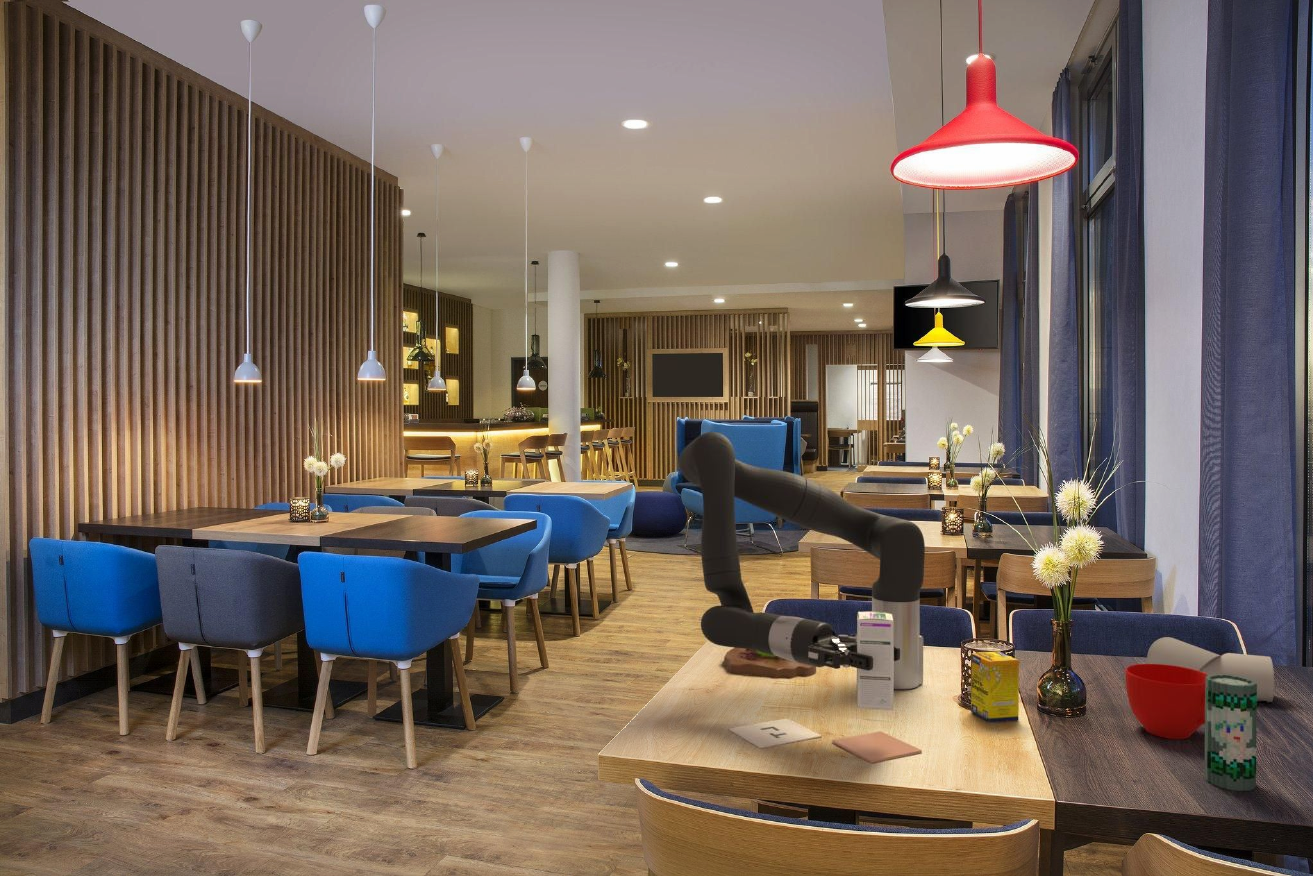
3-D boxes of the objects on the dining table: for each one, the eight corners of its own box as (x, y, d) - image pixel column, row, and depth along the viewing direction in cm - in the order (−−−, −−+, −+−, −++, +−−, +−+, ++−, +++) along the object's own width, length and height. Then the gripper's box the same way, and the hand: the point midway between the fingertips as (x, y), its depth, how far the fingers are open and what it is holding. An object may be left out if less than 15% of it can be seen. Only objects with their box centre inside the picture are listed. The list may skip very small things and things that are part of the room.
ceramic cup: (1205, 759, 143) (1206, 695, 142) (1108, 727, 158) (1108, 669, 157) (1254, 745, 149) (1255, 684, 148) (1155, 715, 164) (1156, 660, 163)
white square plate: (787, 719, 162) (787, 718, 162) (821, 737, 153) (821, 735, 153) (728, 729, 157) (728, 728, 157) (760, 748, 148) (760, 746, 148)
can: (1210, 787, 132) (1211, 683, 131) (1201, 772, 137) (1202, 672, 137) (1259, 793, 130) (1260, 687, 129) (1248, 777, 135) (1249, 676, 135)
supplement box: (970, 712, 166) (970, 652, 165) (1000, 710, 167) (1000, 650, 167) (988, 723, 160) (988, 661, 160) (1019, 721, 161) (1019, 659, 161)
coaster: (880, 733, 155) (880, 731, 155) (921, 752, 146) (921, 750, 146) (832, 742, 150) (832, 740, 150) (871, 763, 141) (871, 760, 141)
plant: (727, 653, 209) (727, 604, 209) (813, 656, 207) (813, 607, 206) (721, 678, 190) (721, 624, 189) (817, 681, 187) (817, 626, 187)
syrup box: (894, 711, 144) (895, 619, 144) (855, 708, 146) (857, 617, 145) (892, 700, 150) (894, 612, 150) (855, 697, 151) (857, 610, 151)
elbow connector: (1151, 690, 175) (1276, 704, 166) (1151, 634, 177) (1274, 645, 168) (1146, 687, 191) (1259, 699, 182) (1146, 635, 193) (1258, 645, 184)
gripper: (777, 625, 152) (862, 643, 141) (825, 612, 163) (908, 628, 151) (776, 669, 153) (861, 691, 141) (824, 654, 163) (907, 673, 151)
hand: (885, 659), depth 146 cm, fingers closed on syrup box, 8 cm apart
